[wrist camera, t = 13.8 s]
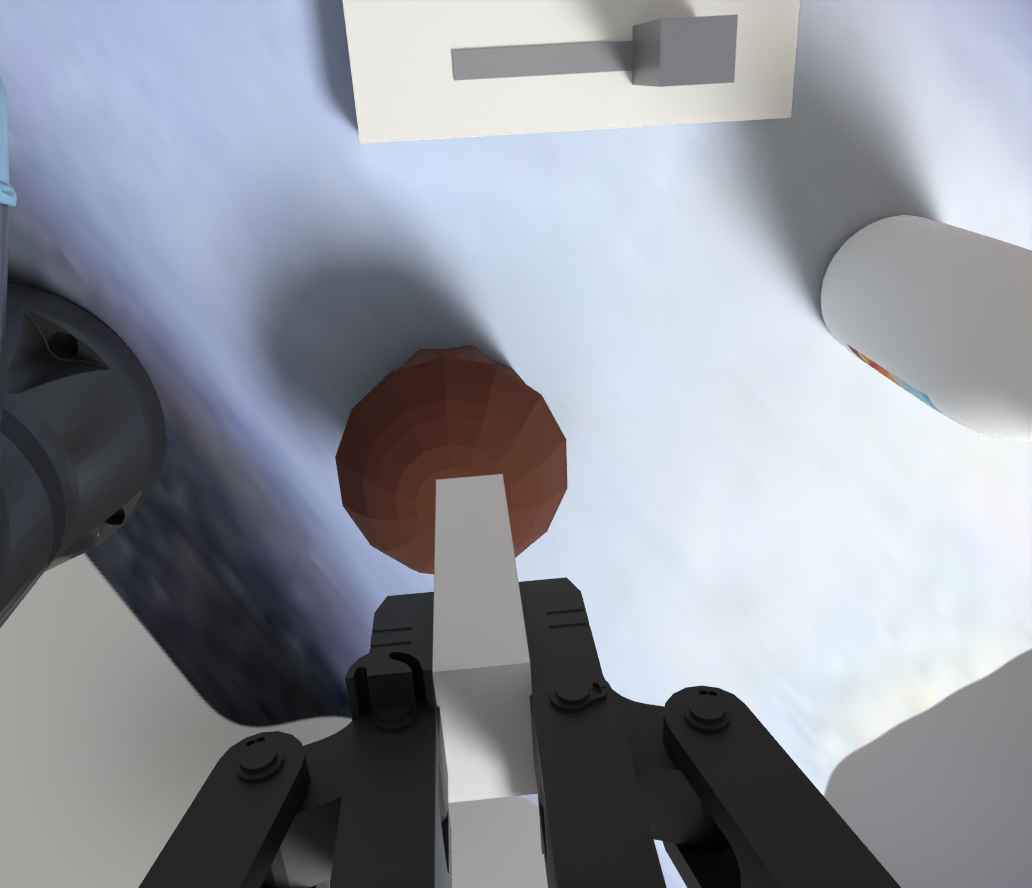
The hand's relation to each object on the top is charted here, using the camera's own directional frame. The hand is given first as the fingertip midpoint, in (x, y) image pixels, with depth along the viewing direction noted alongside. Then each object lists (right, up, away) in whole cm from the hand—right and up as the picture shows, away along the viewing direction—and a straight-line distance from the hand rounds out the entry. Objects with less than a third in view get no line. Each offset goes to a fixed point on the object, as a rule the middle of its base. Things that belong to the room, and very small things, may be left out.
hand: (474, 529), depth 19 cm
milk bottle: (+21, +11, +26) cm, 35 cm away
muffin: (-3, +3, +28) cm, 28 cm away
